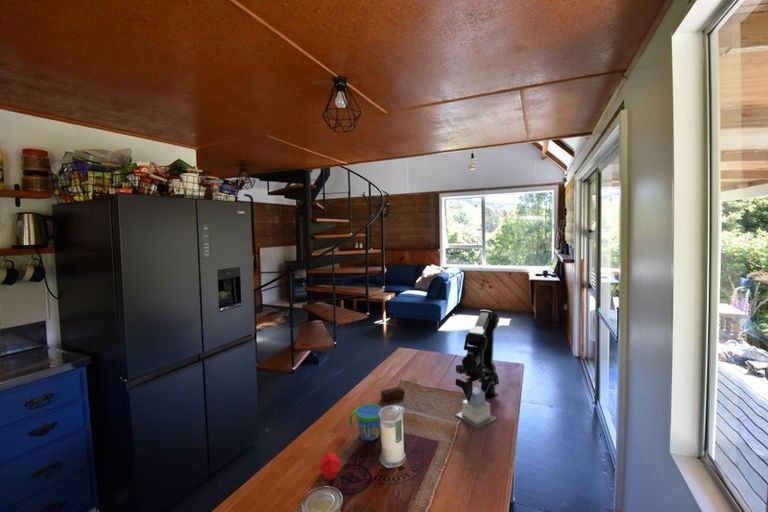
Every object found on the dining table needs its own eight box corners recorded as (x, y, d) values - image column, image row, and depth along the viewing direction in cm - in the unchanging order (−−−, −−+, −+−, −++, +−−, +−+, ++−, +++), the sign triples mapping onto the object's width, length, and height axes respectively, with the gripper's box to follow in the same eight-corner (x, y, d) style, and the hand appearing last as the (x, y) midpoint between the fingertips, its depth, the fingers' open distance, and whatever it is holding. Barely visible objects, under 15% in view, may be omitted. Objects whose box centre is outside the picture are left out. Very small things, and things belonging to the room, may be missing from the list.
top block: (475, 398, 140) (475, 386, 140) (484, 403, 136) (484, 391, 136) (467, 401, 138) (467, 390, 137) (476, 406, 134) (476, 394, 133)
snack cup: (393, 431, 129) (392, 406, 128) (385, 448, 119) (384, 421, 118) (356, 425, 134) (355, 401, 133) (345, 440, 124) (344, 414, 123)
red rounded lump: (340, 467, 102) (336, 444, 109) (319, 475, 101) (316, 450, 108) (344, 480, 105) (340, 456, 112) (323, 487, 104) (320, 463, 111)
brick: (384, 403, 150) (384, 394, 150) (380, 400, 154) (380, 390, 154) (404, 398, 155) (404, 389, 155) (400, 395, 158) (400, 385, 158)
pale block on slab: (474, 407, 146) (474, 392, 145) (497, 419, 136) (497, 404, 135) (455, 415, 139) (455, 400, 139) (477, 429, 129) (477, 413, 129)
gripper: (476, 351, 148) (476, 384, 149) (445, 360, 137) (446, 396, 139) (496, 359, 138) (496, 394, 139) (465, 369, 128) (466, 408, 129)
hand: (476, 398), depth 137 cm, fingers open, 9 cm apart
